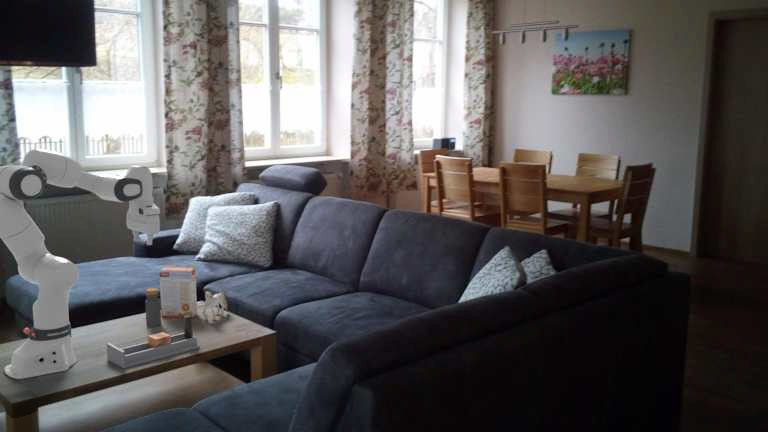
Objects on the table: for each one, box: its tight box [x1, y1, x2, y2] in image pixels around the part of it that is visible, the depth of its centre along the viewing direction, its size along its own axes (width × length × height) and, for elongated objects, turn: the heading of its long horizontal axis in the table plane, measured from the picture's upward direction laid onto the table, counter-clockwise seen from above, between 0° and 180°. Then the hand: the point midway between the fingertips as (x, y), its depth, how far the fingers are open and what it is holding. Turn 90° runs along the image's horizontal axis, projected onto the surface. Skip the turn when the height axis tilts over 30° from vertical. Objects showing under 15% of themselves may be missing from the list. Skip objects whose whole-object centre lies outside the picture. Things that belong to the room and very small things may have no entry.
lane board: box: [106, 332, 201, 369], centre depth 257 cm, size 30×12×6 cm, turn 136°
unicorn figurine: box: [202, 291, 228, 322], centre depth 297 cm, size 7×20×13 cm, turn 177°
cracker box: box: [159, 266, 198, 319], centre depth 301 cm, size 14×6×21 cm, turn 84°
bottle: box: [144, 287, 162, 328], centre depth 289 cm, size 6×6×15 cm
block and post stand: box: [147, 315, 194, 349], centre depth 261 cm, size 16×6×10 cm, turn 136°
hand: (143, 243), depth 271 cm, fingers open, 8 cm apart
